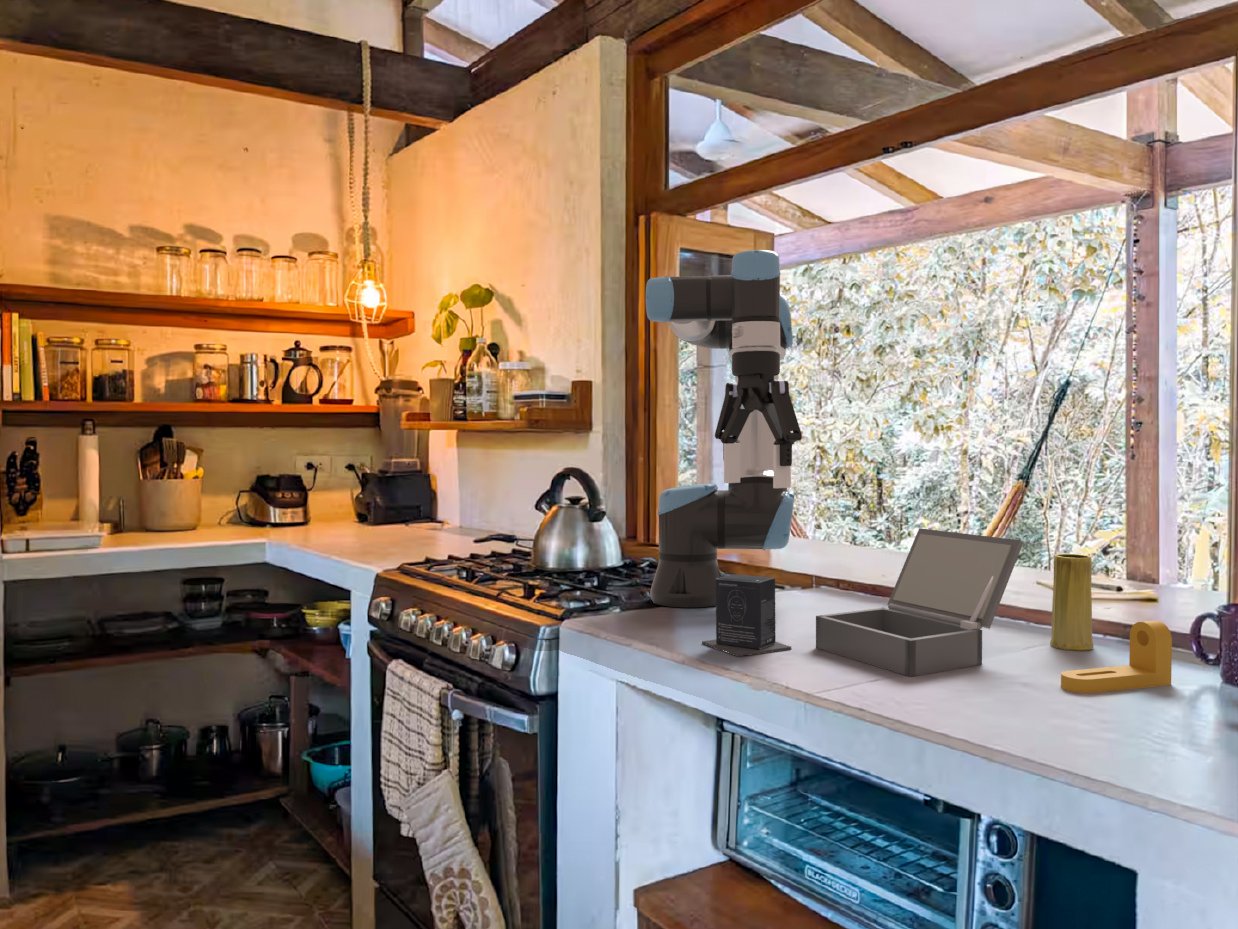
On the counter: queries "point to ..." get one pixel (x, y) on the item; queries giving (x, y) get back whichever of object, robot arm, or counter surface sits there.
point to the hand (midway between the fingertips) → (756, 485)
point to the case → (929, 607)
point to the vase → (1072, 603)
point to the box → (745, 611)
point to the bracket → (1130, 664)
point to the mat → (746, 648)
